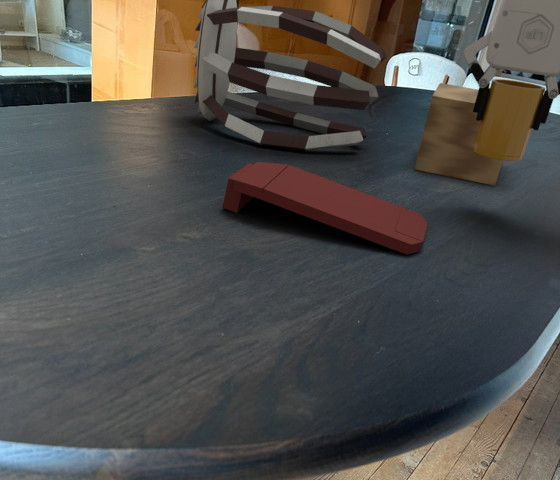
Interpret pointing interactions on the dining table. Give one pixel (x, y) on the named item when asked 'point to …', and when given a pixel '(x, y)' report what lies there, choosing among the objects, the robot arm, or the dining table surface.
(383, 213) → the red hooked ramp
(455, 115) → the wooden block
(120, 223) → the dining table surface
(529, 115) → the cup
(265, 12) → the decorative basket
